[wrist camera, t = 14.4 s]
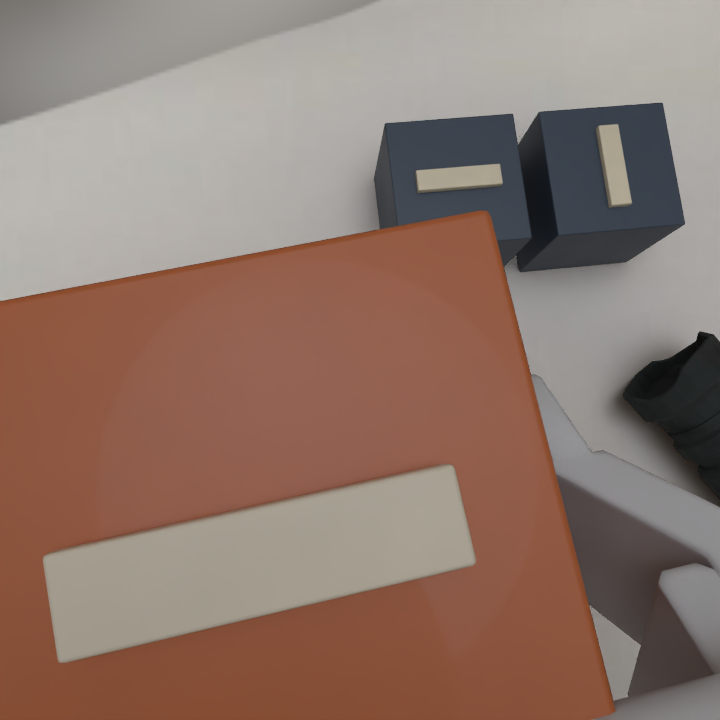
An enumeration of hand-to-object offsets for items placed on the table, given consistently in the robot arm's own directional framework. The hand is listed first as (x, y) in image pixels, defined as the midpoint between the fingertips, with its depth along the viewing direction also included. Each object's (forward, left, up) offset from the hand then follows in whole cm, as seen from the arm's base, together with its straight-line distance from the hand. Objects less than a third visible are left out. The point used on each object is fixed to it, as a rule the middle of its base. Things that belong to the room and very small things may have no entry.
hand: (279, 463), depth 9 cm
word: (+10, +10, -19) cm, 24 cm away
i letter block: (0, -1, -5) cm, 5 cm away
